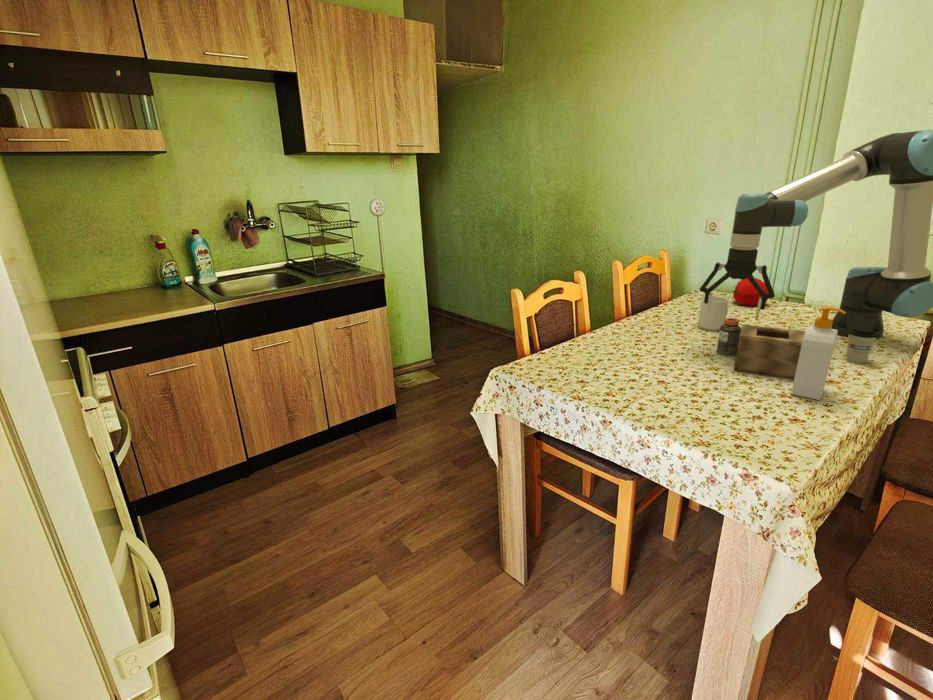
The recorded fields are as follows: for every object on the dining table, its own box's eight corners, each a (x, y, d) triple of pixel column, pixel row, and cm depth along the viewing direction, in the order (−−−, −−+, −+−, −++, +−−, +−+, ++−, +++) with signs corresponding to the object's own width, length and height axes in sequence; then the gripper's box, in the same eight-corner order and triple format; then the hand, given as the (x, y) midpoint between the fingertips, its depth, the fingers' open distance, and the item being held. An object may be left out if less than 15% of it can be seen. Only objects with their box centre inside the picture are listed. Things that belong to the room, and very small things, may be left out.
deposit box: (797, 365, 143) (805, 331, 140) (798, 380, 134) (807, 343, 130) (736, 357, 151) (742, 324, 148) (733, 370, 142) (739, 335, 138)
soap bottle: (823, 402, 121) (844, 314, 113) (790, 395, 125) (809, 309, 118) (827, 390, 128) (847, 305, 120) (795, 383, 132) (813, 302, 124)
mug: (720, 332, 174) (725, 303, 170) (694, 328, 180) (698, 299, 176) (729, 324, 183) (734, 296, 179) (704, 321, 188) (708, 293, 184)
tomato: (762, 310, 210) (729, 310, 213) (760, 283, 213) (727, 283, 216) (774, 300, 198) (739, 300, 201) (772, 271, 201) (737, 272, 204)
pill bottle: (736, 351, 157) (742, 317, 153) (737, 357, 152) (743, 322, 148) (716, 348, 159) (721, 315, 155) (716, 354, 154) (721, 320, 150)
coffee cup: (843, 355, 150) (851, 324, 147) (872, 360, 146) (880, 328, 142) (839, 361, 146) (846, 329, 142) (868, 367, 141) (877, 334, 138)
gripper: (793, 248, 141) (778, 318, 148) (699, 244, 153) (690, 308, 160) (793, 252, 135) (778, 324, 142) (696, 247, 147) (686, 314, 154)
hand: (731, 316), depth 151 cm, fingers open, 13 cm apart
